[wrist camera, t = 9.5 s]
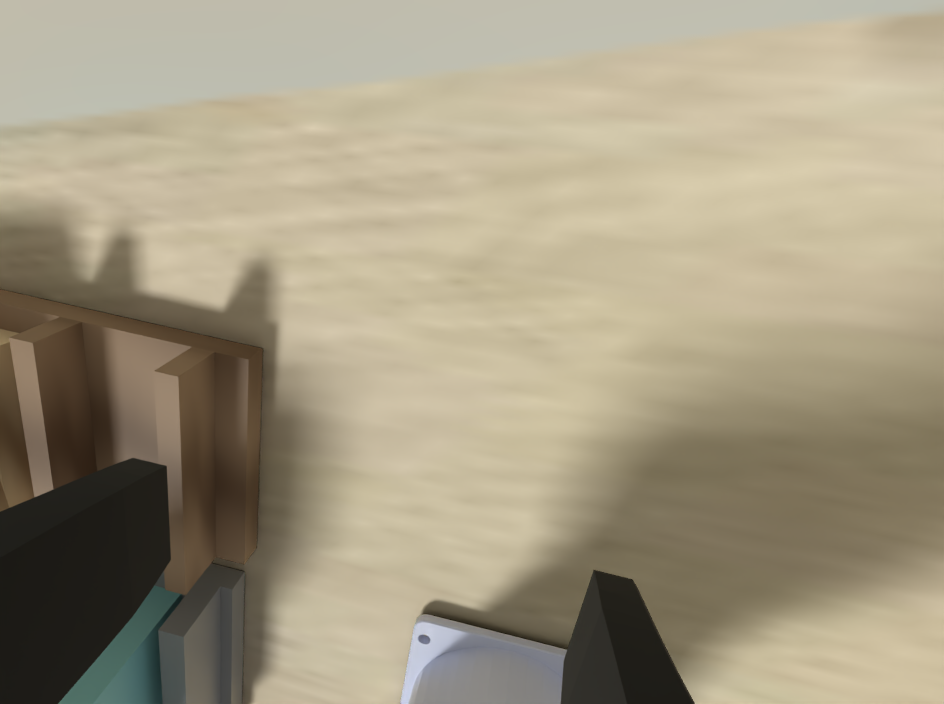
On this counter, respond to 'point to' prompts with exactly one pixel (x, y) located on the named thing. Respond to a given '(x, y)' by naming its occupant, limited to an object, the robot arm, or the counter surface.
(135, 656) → the teal block
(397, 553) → the counter surface
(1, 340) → the offcut low
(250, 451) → the rack
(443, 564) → the counter surface
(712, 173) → the counter surface
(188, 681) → the holder
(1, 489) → the offcut top
